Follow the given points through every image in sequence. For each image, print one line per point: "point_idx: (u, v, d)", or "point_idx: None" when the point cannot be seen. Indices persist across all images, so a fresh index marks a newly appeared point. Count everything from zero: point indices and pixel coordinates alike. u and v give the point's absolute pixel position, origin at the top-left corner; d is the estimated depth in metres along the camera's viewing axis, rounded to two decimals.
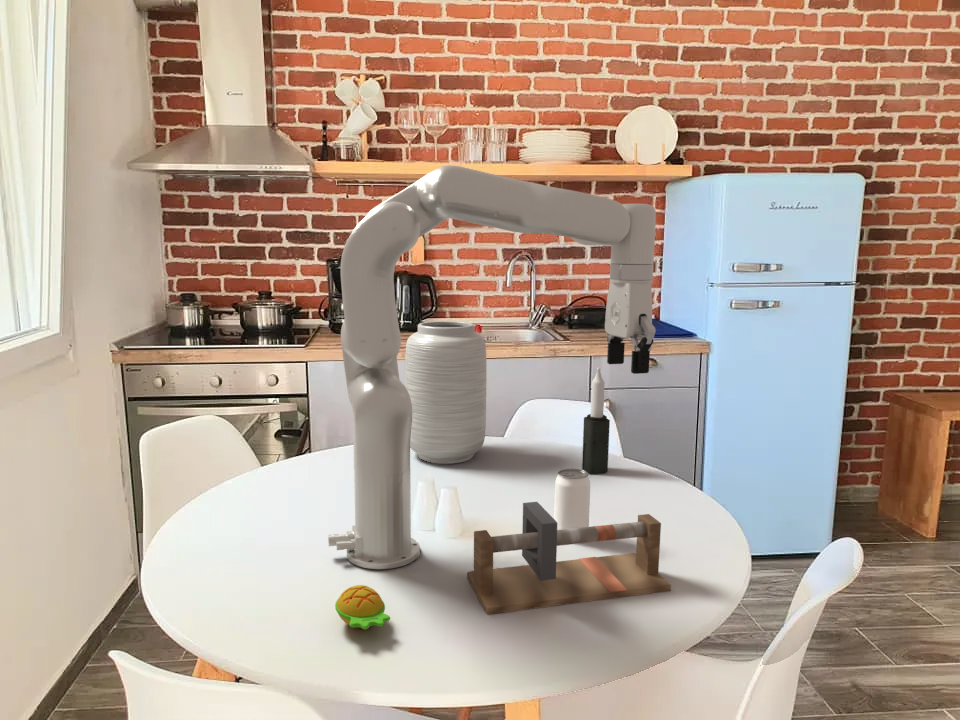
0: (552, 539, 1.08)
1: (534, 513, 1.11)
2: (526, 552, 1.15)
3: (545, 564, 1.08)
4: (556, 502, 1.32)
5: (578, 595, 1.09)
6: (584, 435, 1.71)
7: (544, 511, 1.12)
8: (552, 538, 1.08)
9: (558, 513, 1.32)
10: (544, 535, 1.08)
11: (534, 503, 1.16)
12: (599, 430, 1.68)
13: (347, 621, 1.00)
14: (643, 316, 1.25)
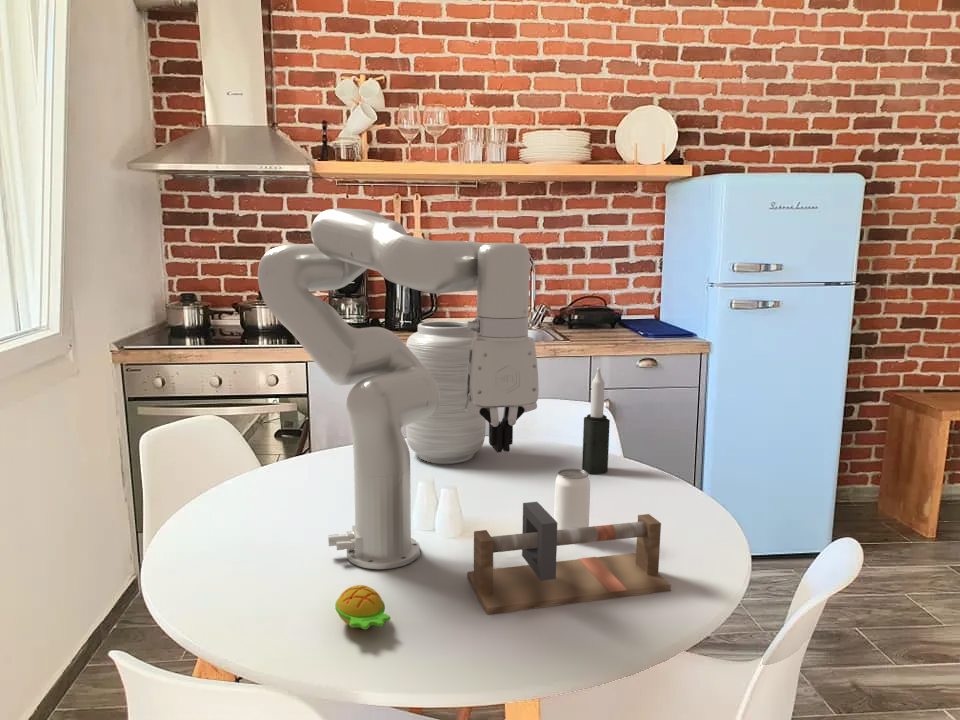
0: (552, 539, 1.08)
1: (534, 513, 1.11)
2: (526, 552, 1.15)
3: (545, 564, 1.08)
4: (556, 502, 1.32)
5: (578, 595, 1.09)
6: (584, 435, 1.71)
7: (544, 511, 1.12)
8: (552, 538, 1.08)
9: (558, 513, 1.32)
10: (544, 535, 1.08)
11: (534, 503, 1.16)
12: (599, 430, 1.68)
13: (347, 621, 1.00)
14: None
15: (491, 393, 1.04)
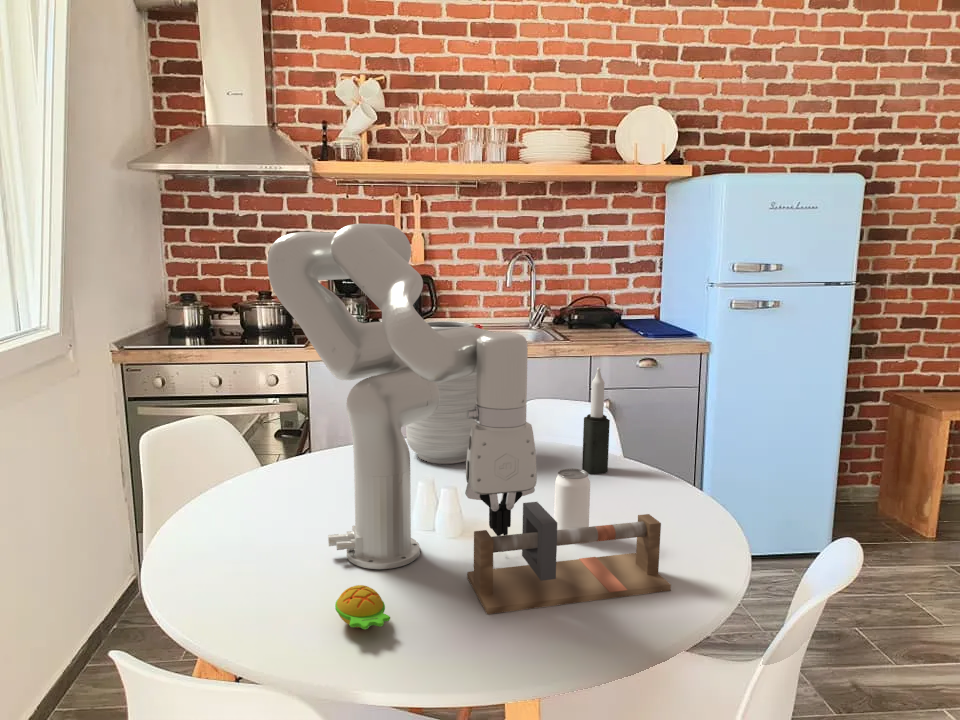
0: (552, 539, 1.08)
1: (534, 513, 1.11)
2: (526, 552, 1.15)
3: (545, 564, 1.08)
4: (556, 502, 1.32)
5: (578, 595, 1.09)
6: (584, 435, 1.71)
7: (544, 511, 1.12)
8: (552, 538, 1.08)
9: (558, 513, 1.32)
10: (544, 535, 1.08)
11: (534, 503, 1.16)
12: (599, 430, 1.68)
13: (347, 621, 1.00)
14: None
15: (490, 480, 1.06)
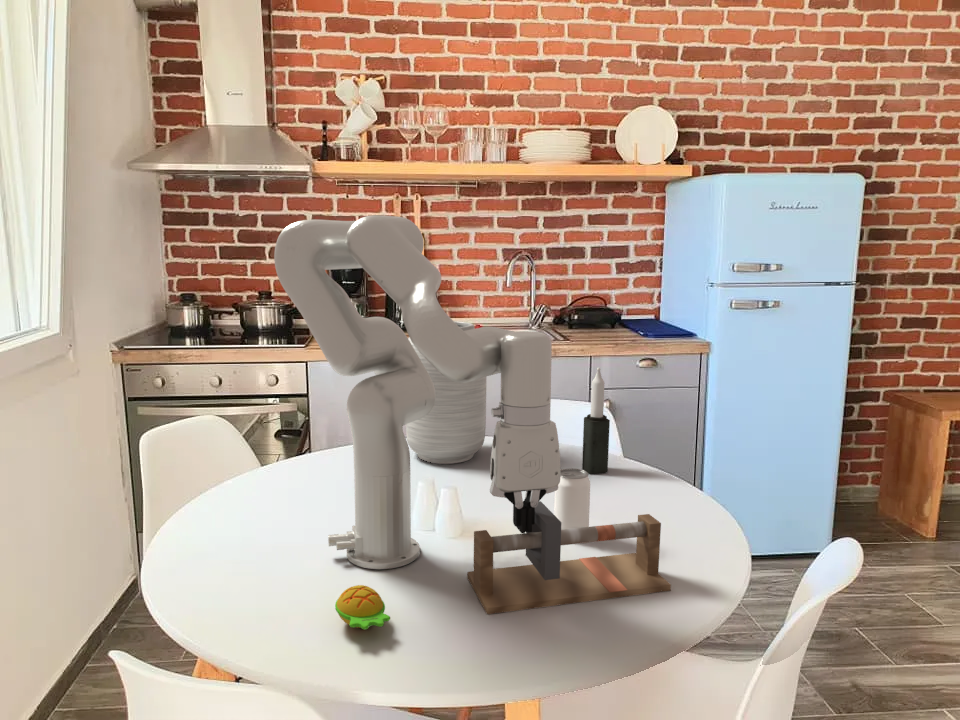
0: (556, 539, 1.08)
1: (538, 513, 1.11)
2: (530, 551, 1.15)
3: (549, 564, 1.09)
4: (556, 502, 1.32)
5: (578, 595, 1.09)
6: (584, 435, 1.71)
7: (548, 511, 1.12)
8: (556, 538, 1.08)
9: (558, 513, 1.32)
10: (548, 534, 1.08)
11: (538, 503, 1.16)
12: (599, 430, 1.68)
13: (347, 621, 1.00)
14: None
15: (515, 478, 1.07)
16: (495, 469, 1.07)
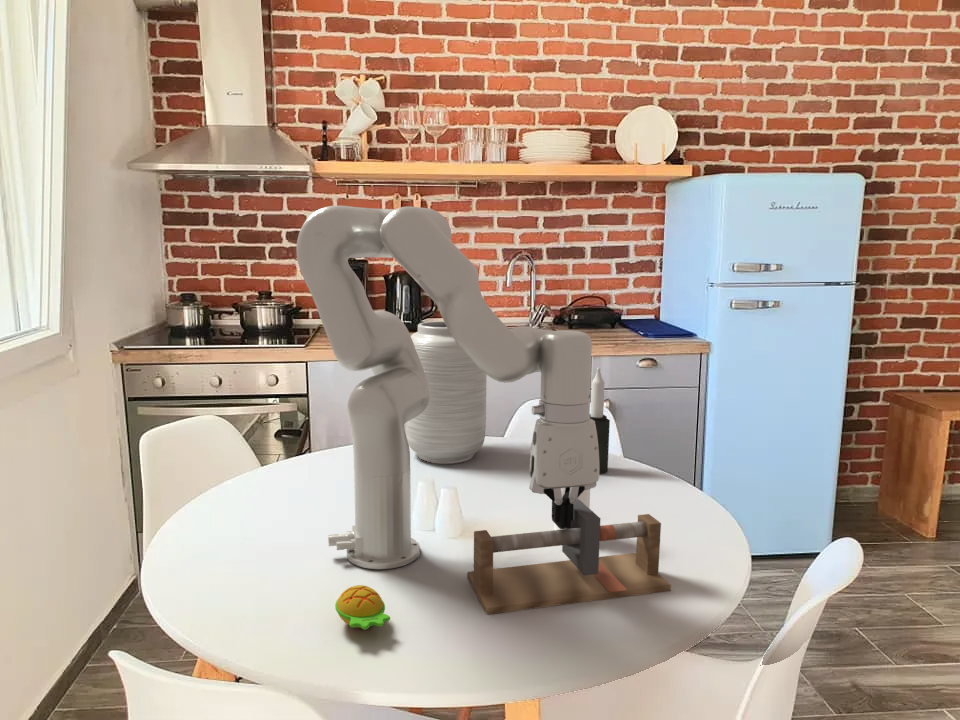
0: (595, 534, 1.10)
1: (576, 509, 1.13)
2: (567, 547, 1.17)
3: (588, 559, 1.10)
4: None
5: (578, 595, 1.09)
6: None
7: (586, 507, 1.14)
8: (595, 534, 1.10)
9: None
10: (587, 530, 1.09)
11: None
12: (599, 430, 1.68)
13: (347, 621, 1.00)
14: None
15: (555, 475, 1.08)
16: (536, 466, 1.09)
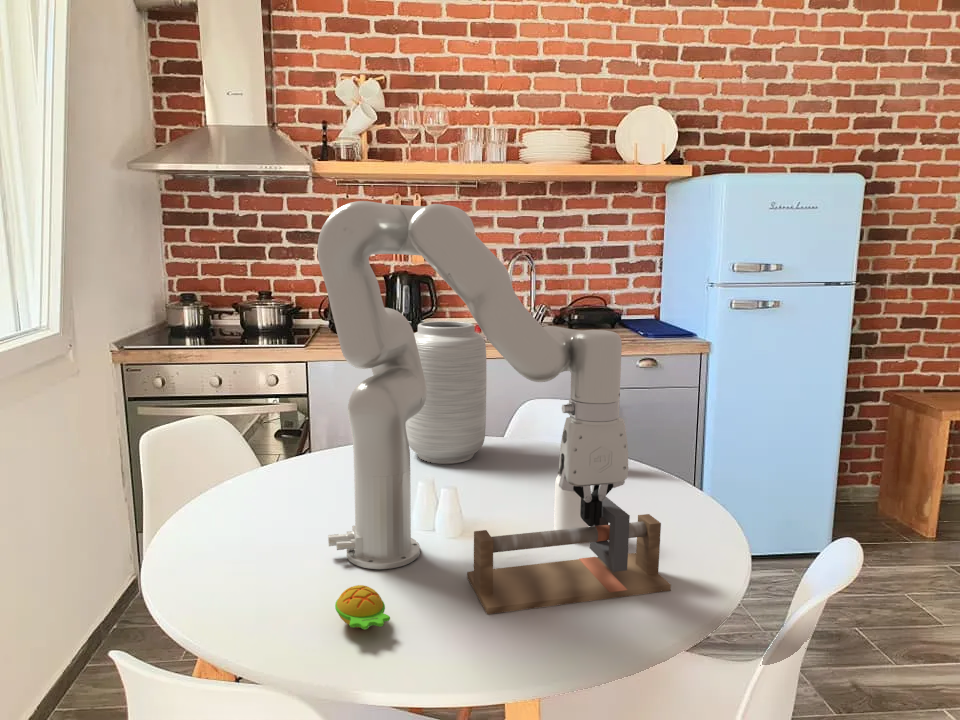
0: (624, 531, 1.11)
1: (605, 506, 1.14)
2: (595, 544, 1.18)
3: (617, 556, 1.11)
4: (556, 502, 1.32)
5: (578, 595, 1.09)
6: None
7: (614, 504, 1.15)
8: (624, 530, 1.11)
9: (558, 513, 1.32)
10: (617, 527, 1.11)
11: None
12: None
13: (347, 621, 1.00)
14: None
15: (585, 473, 1.10)
16: (566, 464, 1.10)
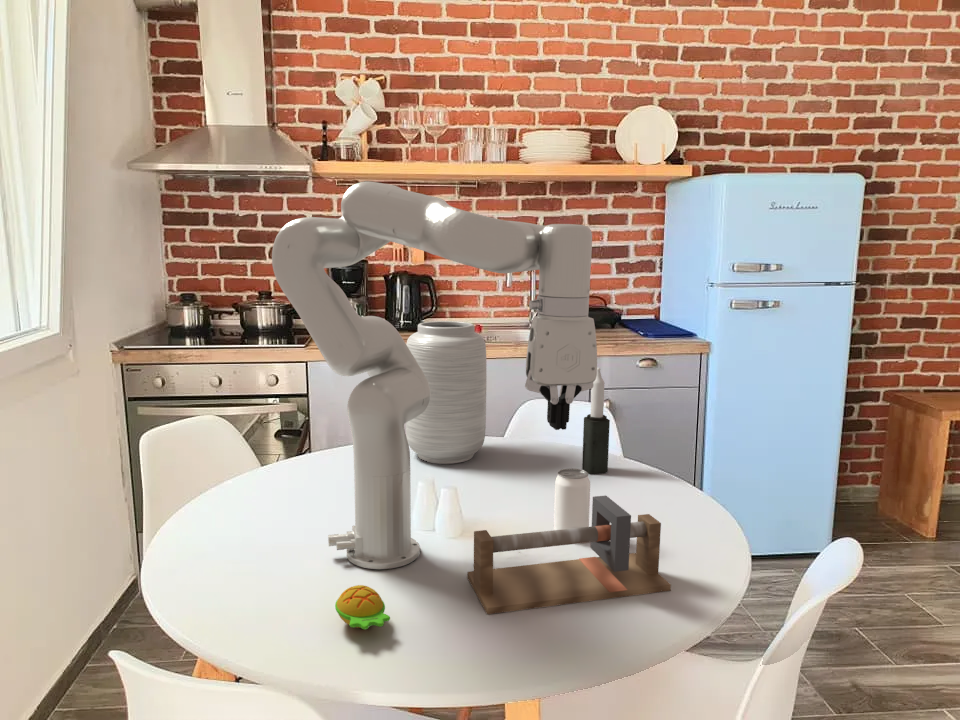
0: (626, 531, 1.11)
1: (606, 506, 1.14)
2: (596, 544, 1.18)
3: (619, 556, 1.12)
4: (556, 502, 1.32)
5: (578, 595, 1.09)
6: (584, 435, 1.71)
7: (615, 504, 1.15)
8: (626, 530, 1.11)
9: (558, 513, 1.32)
10: (618, 527, 1.11)
11: (603, 497, 1.19)
12: (599, 430, 1.68)
13: (347, 621, 1.00)
14: None
15: (552, 371, 1.06)
16: (532, 362, 1.06)
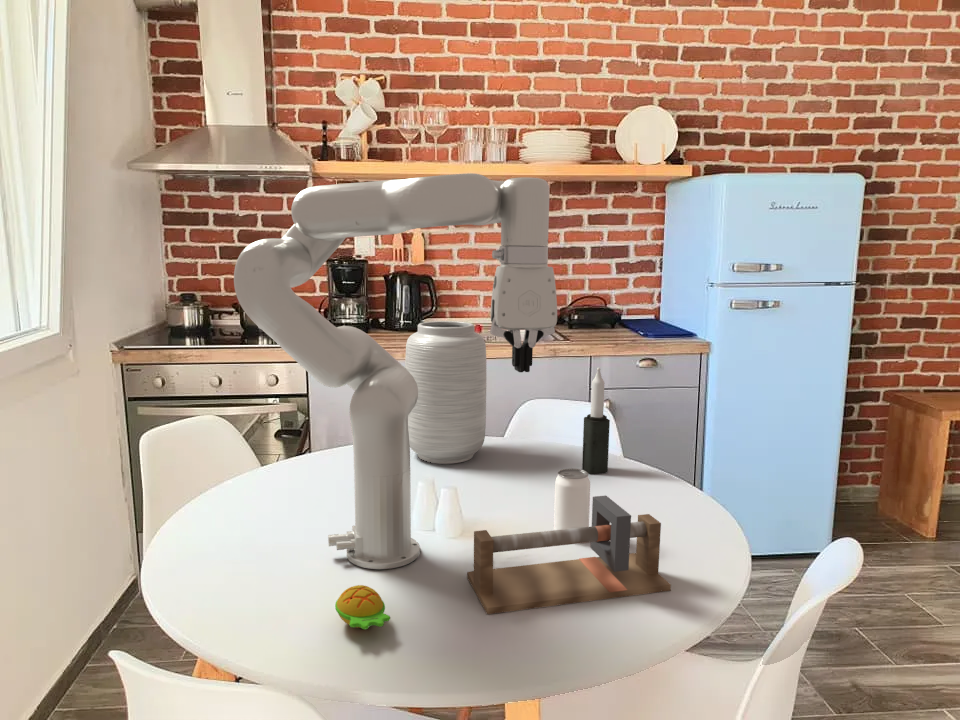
0: (626, 531, 1.11)
1: (606, 506, 1.14)
2: (596, 544, 1.18)
3: (619, 556, 1.12)
4: (556, 502, 1.32)
5: (578, 595, 1.09)
6: (584, 435, 1.71)
7: (615, 504, 1.15)
8: (626, 530, 1.11)
9: (558, 513, 1.32)
10: (618, 527, 1.11)
11: (603, 497, 1.19)
12: (599, 430, 1.68)
13: (347, 621, 1.00)
14: None
15: (514, 316, 1.13)
16: (495, 307, 1.13)
